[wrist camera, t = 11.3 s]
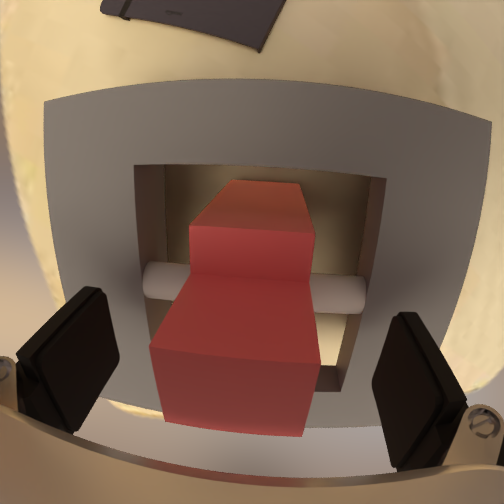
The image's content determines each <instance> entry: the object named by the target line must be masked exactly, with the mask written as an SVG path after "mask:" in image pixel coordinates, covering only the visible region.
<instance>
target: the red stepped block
mask: <svg viewBox="0 0 504 504" xmlns="http://www.w3.org/2000/svg"><path fill="white" fill-rule="evenodd" d="M314 241H315V231H314V228H313V225H312V222H311V218H310V215H309V212H308V209H307V206H306V203H305V200H304V197H303V194H302V191H301V188H300V185H299V184H295V183H282V182H267V181H250V180H231V181H230V182H229V183H228V184H227V185H226V186H225V187H224V188H223V189H222V190H221V191H220V192H219V193H218V194H217V195H216V196H215V198H214V199H213V200H212V201H211V202H210V203H209V204H208V205H207V206H206V207H205V208H204V209H203V210H202V211H201V213H200V214H199V215H198V216H197V217H196V218H195V219H194V220H193V221H192V222H191V224H190V225H189V248H190V275H189V277H188V278H187V280H186V282H185V283H184V285H183V287H182V288H181V290H180V292H179V294H178V295H177V297H176V299H175V301H174V302H173V304H172V306H171V307H170V309H169V311H168V313H167V314H166V316H165V318H164V320H163V321H162V323H161V325H160V327H159V328H158V330H157V332H156V334H155V336H154V337H153V339H152V341H151V343H150V344H149V351H150V357H151V362H152V367H153V371H154V376H155V381H156V386H157V390H158V394H159V399H160V403H161V407H162V411H163V415H164V419H165V422H170V423H176V424H182V425H187V426H193V427H199V428H206V429H212V430H220V431H228V432H237V433H248V434H258V435H274V436H293V437H302V434H303V431H304V428H305V424H306V420H307V417H308V413H309V409H310V406H311V402H312V398H313V394H314V390H315V386H316V382H317V378H318V374H319V370H320V366H321V359H320V352H319V344H318V337H317V330H316V323H315V316H314V309H313V303H312V296H311V290H310V284H309V281H310V273H311V266H312V258H313V250H314Z"/></svg>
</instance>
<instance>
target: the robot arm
mask: <svg viewBox="0 0 504 504" xmlns="http://www.w3.org/2000/svg"><path fill="white" fill-rule="evenodd" d="M16 356H17V358H18V360H19V361H18V362H17V363H16V364H15V362H14V361H13V359H11V358H9V357H5V356H0V504H504V421H503V418H502V417H501V415H500V414H499V413H498V412H497V411H496V410H495V409H493V408H491V407H490V406H486V405H483V404H476V405H473V406H470V407H468V405H467V403H466V400H467V398H466V396H465V394H464V392H463V390H462V388H461V387H460V385H459V383H458V381H457V379H456V377H455V376H454V374H453V372H452V370H451V368H450V367H449V365H448V363H447V361H446V360H445V358H444V356H443V354H442V353H441V351H440V349H439V348H438V346H437V344H436V342H435V341H434V339H433V337H432V336H431V334H430V333H429V331H428V329H427V328H426V326H425V324H424V323H423V321H422V320H421V318H420V316H419V315H418V313H417V312H399V313H398V314H397V316H393V318H392V320H391V323H390V326H389V330H388V333H387V336H386V339H385V342H384V345H383V348H382V351H381V354H380V357H379V360H378V363H377V366H376V369H375V372H374V374H373V377H372V390H373V394H374V398H375V401H376V405H377V409H378V413H379V417H380V421H381V425H382V428H383V433H384V437H385V441H386V445H387V449H388V453H389V457H390V462H391V466H392V467H393V468H395V467H396V469H397V472H395V473H387V474H378V475H365V476H353V477H352V476H351V477H332V478H286V477H266V476H253V475H242V474H233V473H224V472H216V471H210V470H203V469H197V468H191V467H186V466H181V465H176V464H171V463H166V462H162V461H157V460H153V459H148V458H145V457H141V456H137V455H133V454H130V453H126V452H122V451H119V450H116V449H112V448H109V447H106V446H103V445H100V444H97V443H94V442H91V441H88V440H85V439H82V438H80V437H77V436H74V435H73V433H74V431H78V430H79V429H80V427H81V426H82V423H83V422H84V420H85V419H86V417H87V415H88V414H89V412H90V410H91V409H92V407H93V405H94V403H95V402H96V400H97V398H98V397H99V395H100V393H101V392H102V390H103V388H104V387H105V385H106V384H107V382H108V380H109V379H110V377H111V375H112V374H113V372H114V370H115V369H116V367H117V366H118V364H119V361H120V354H119V350H118V346H117V341H116V337H115V333H114V328H113V324H112V319H111V315H110V310H109V305H108V300H107V295H106V294H105V293H103V291H102V289H101V288H98V287H91V286H84V287H83V288H82V289H81V290H80V291H79V292H77V293H76V294H75V295H74V296H73V297H72V298H71V299H70V300H69V301H68V302H67V303H66V304H65V305H64V306H63V307H61V308H60V309H59V310H58V311H57V312H56V313H55V314H54V315H53V316H52V317H51V318H50V319H49V320H48V321H47V322H46V323H45V324H44V325H43V326H42V327H41V328H40V329H39V330H38V331H37V332H36V333H35V334H34V335H33V336H32V337H31V338H30V339H29V340H28V341H27V342H26V343H25V344H24V345H23V346H22V347H21V348H20V349H19V350H18V351H17V353H16Z"/></svg>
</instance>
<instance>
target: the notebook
mask: <svg viewBox="0 0 504 504" xmlns="http://www.w3.org/2000/svg"><path fill="white" fill-rule="evenodd" d="M285 1H286V0H103V1H102V3H101V6H100V11H101V12H102V13H103V14H106V15H113V16H119V17H121V18H122V19H124V20H129V19H127V18H126V17H128V18H135V19H141V20H147V21H152V22H158V23H163V24H168V25H173V26H177V27H182V28H186V29H190V30H194V31H198V32H202V33H206V34H210V35H213V36H217V37H220V38H224V39H227V40H230V41H234V42H237V43H240V44H243V45H246V46H249V47H252V48H255V49H257V50H258V53H260V52H261V50H262V47H263V45H264V43H265V41H266V39H267V37H268V35H269V33H270V31H271V29H272V27H273V25H274V23H275V21H276V19H277V17H278V15H279V13H280V11H281V9H282V7H283V5H284V3H285ZM129 21H130V20H129Z"/></svg>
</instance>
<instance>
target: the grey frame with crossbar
mask: <svg viewBox="0 0 504 504" xmlns="http://www.w3.org/2000/svg"><path fill="white" fill-rule="evenodd" d="M491 129H492V122H490V121H488V120H485V119H482V118H479V117H476V116H473V115H470V114H467V113H463V112H460V111H457V110H454V109H450V108H447V107H443V106H439V105H436V104H432V103H428V102H424V101H420V100H416V99H411V98H407V97H402V96H398V95H393V94H388V93H382V92H377V91H371V90H365V89H359V88H353V87H346V86H338V85H330V84H321V83H312V82H300V81H287V80H268V79H198V80H180V81H166V82H155V83H146V84H137V85H129V86H122V87H115V88H108V89H102V90H96V91H91V92H86V93H80V94H76V95H71V96H66V97H62V98H57V99H53V100H49V101H45V102H44V159H45V176H46V188H47V198H48V207H49V215H50V223H51V230H52V236H53V242H54V248H55V254H56V259H57V264H58V269H59V274H60V279H61V283H62V288H63V292H64V296H65V300H66V303H67V302H68V301H69V300H70V299H71V298H72V297H73V296H74V295H75V294H76V293H77V292H79V291H80V290H81V289H82V288H83V287H84V286H91V287H98V288H101V289H102V291H103V293H105V294H106V295H107V300H108V305H109V310H110V315H111V319H112V324H113V328H114V333H115V337H116V341H117V346H118V350H119V354H120V361H119V364H118V366H117V367H116V369H115V370H114V372H113V374H112V375H111V377H110V379H109V380H108V382H107V384H106V385H105V387H104V388H103V390H102V392H101V393H100V395H99V397H102V398H106V399H109V400H113V401H117V402H121V403H125V404H129V405H133V406H137V407H141V408H146V409H150V410H155V411H160V412H163V411H162V407H161V403H160V399H159V394H158V390H157V386H156V381H155V376H154V371H153V367H152V362H151V357H150V351H149V344H150V343H151V341H152V339H153V337H154V336H155V334H156V332H157V330H158V328H159V327H160V325H161V323H162V321H163V320H164V318H165V316H166V314H167V313H168V311H169V309H170V307H171V306H172V304H171V301H175V299H176V297H177V295H178V294H179V292H180V290H181V288H182V287H183V285H184V283H185V282H186V280H187V278H188V277H189V275H190V264H181V263H168V253H167V235H166V213H165V175H164V164H206V165H240V166H261V167H278V168H292V169H305V170H317V171H328V172H338V173H347V174H356V175H364V176H371V180H370V189H369V197H368V205H367V213H366V220H365V227H364V233H363V240H362V246H361V252H360V258H359V263H358V269H357V274H356V276H350V275H334V274H318V273H310V281H309V284H310V290H311V296H312V303H313V309H314V312H317V313H338V314H348V318H347V323H346V327H345V331H344V335H343V340H342V344H341V348H340V352H339V356H338V360H337V363H336V366H328V365H321V366H320V370H319V374H318V378H317V382H316V386H315V390H314V394H313V398H312V402H311V406H310V409H309V413H308V417H307V420H306V424H305V428H339V427H365V426H366V427H367V426H382V425H381V421H380V417H379V413H378V409H377V405H376V401H375V398H374V394H373V390H372V377H373V374H374V372H375V369H376V366H377V363H378V360H379V357H380V354H381V351H382V348H383V345H384V342H385V339H386V336H387V333H388V330H389V326H390V323H391V320H392V318H393V316H397V314H398V313H399V312H417V313H418V315H419V316H420V318H421V320H422V321H423V323H424V324H425V326H426V328H427V329H428V331H429V333H430V334H431V336H432V337H433V339H434V341H435V342H436V344H437V346H438V348H439V349H440V346H441V344H442V342H443V339H444V337H445V334H446V332H447V329H448V326H449V324H450V321H451V318H452V316H453V313H454V310H455V307H456V304H457V301H458V298H459V295H460V292H461V289H462V286H463V283H464V279H465V276H466V273H467V269H468V266H469V262H470V258H471V255H472V251H473V247H474V243H475V238H476V234H477V230H478V225H479V220H480V215H481V210H482V205H483V199H484V193H485V186H486V180H487V172H488V164H489V155H490V144H491Z"/></svg>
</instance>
